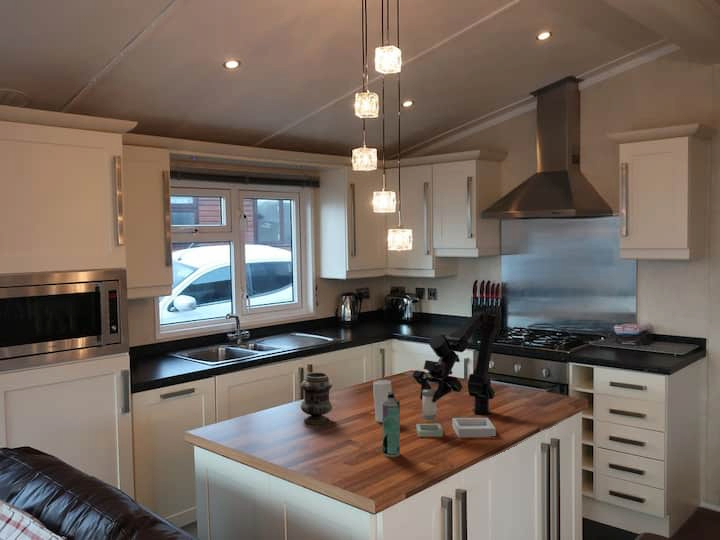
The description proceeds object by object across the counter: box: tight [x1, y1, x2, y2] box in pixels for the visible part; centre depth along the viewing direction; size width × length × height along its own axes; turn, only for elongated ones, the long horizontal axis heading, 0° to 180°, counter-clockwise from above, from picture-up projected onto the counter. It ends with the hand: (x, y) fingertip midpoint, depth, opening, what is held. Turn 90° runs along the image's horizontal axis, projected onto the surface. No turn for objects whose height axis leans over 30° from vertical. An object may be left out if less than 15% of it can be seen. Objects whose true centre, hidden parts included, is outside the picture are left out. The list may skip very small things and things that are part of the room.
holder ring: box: [415, 423, 444, 438], centre depth 223 cm, size 8×8×2 cm
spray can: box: [382, 391, 401, 458], centre depth 201 cm, size 6×6×20 cm
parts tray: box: [452, 417, 497, 439], centre depth 224 cm, size 13×13×3 cm
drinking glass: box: [372, 379, 392, 424], centre depth 237 cm, size 7×7×15 cm
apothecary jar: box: [300, 371, 333, 426], centre depth 237 cm, size 12×12×18 cm
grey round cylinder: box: [421, 388, 437, 421], centre depth 222 cm, size 5×5×10 cm
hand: (426, 400), depth 221 cm, fingers closed on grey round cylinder, 5 cm apart
